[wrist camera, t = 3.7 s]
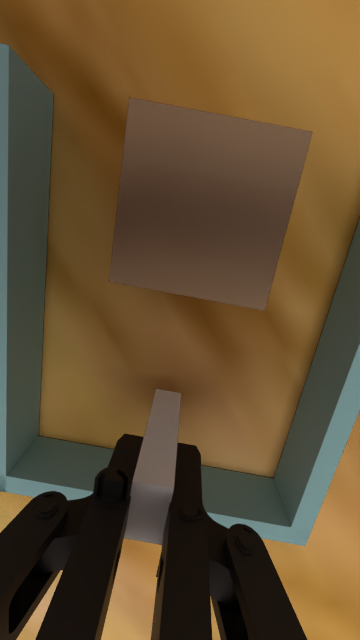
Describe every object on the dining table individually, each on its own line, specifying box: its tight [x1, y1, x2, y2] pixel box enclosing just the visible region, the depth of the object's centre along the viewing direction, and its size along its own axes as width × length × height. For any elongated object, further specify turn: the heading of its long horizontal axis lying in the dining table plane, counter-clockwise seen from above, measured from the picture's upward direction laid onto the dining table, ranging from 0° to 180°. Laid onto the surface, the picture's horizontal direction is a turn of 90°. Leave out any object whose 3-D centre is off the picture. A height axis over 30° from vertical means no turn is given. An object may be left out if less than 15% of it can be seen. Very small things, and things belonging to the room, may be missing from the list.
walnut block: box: [109, 97, 313, 311], centre depth 12 cm, size 6×6×6 cm
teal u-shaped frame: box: [0, 43, 360, 546], centre depth 15 cm, size 22×19×4 cm
